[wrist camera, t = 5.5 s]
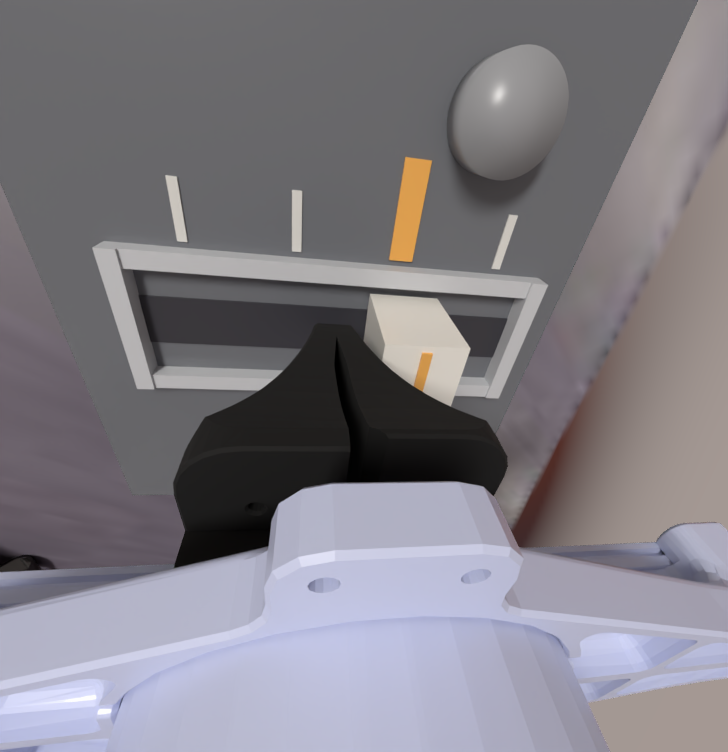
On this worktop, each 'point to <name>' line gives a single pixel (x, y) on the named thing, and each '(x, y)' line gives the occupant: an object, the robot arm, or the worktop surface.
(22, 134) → the console panel
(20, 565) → the coffee press
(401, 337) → the fader tab
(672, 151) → the worktop surface
